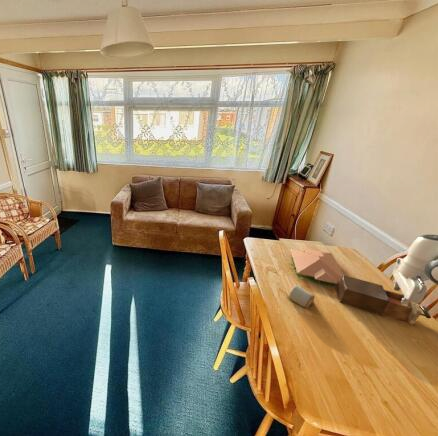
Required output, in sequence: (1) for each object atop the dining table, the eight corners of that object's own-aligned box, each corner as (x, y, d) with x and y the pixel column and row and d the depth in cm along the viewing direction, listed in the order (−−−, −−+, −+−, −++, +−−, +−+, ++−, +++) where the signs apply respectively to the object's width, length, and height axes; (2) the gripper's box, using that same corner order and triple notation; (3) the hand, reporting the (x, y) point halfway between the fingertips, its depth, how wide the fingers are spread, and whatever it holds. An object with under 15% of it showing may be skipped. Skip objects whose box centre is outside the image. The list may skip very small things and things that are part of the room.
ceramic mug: (305, 312, 104) (310, 299, 100) (286, 301, 110) (291, 288, 106) (315, 302, 109) (320, 289, 106) (296, 292, 115) (301, 280, 112)
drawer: (417, 312, 102) (426, 299, 99) (427, 329, 94) (437, 316, 91) (365, 297, 110) (372, 285, 107) (370, 312, 102) (378, 299, 99)
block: (395, 308, 103) (400, 300, 101) (399, 314, 99) (404, 307, 98) (382, 304, 105) (386, 296, 103) (385, 310, 102) (389, 303, 100)
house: (296, 281, 123) (300, 268, 119) (288, 250, 150) (291, 239, 147) (348, 292, 115) (354, 279, 111) (329, 257, 142) (334, 246, 139)
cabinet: (373, 300, 110) (382, 285, 106) (380, 317, 101) (389, 301, 97) (336, 289, 117) (342, 274, 112) (338, 304, 108) (346, 288, 104)
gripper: (437, 288, 84) (419, 315, 89) (416, 260, 99) (401, 285, 105) (413, 282, 87) (397, 309, 92) (396, 256, 102) (383, 280, 108)
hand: (399, 296), depth 99 cm, fingers open, 8 cm apart
